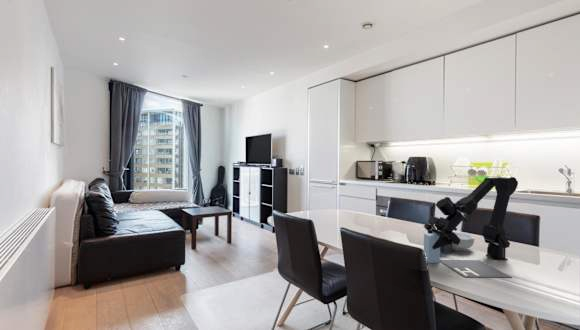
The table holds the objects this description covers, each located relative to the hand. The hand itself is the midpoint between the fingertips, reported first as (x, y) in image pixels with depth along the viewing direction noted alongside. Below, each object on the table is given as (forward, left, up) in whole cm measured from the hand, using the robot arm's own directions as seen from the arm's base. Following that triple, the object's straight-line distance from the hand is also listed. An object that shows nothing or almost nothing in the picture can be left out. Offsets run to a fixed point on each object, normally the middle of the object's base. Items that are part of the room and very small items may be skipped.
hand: (428, 246), depth 130 cm
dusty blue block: (-1, 0, -7) cm, 7 cm away
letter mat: (-14, +9, -7) cm, 18 cm away
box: (-14, -15, -7) cm, 22 cm away
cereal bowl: (-25, -20, -7) cm, 32 cm away
